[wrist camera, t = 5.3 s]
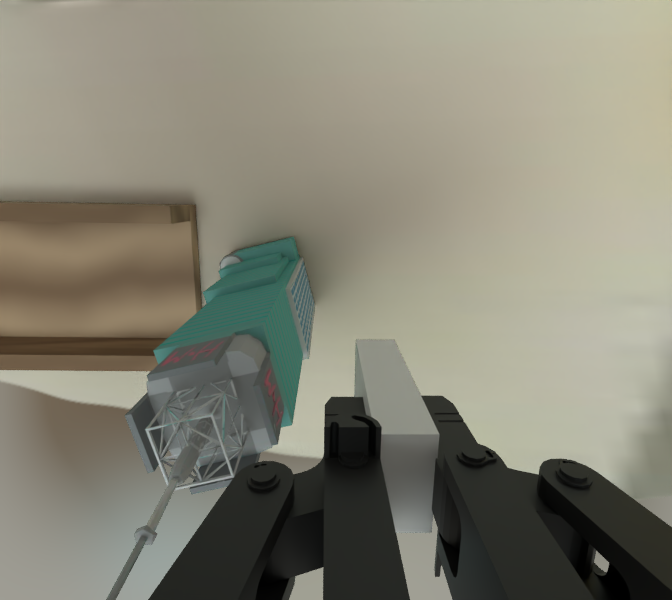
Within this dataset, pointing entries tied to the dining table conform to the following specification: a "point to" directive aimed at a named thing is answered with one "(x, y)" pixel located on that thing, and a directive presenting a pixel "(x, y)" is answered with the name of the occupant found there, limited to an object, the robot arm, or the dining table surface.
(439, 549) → the robot arm
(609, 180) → the dining table surface
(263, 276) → the building
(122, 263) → the tray
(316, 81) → the dining table surface
